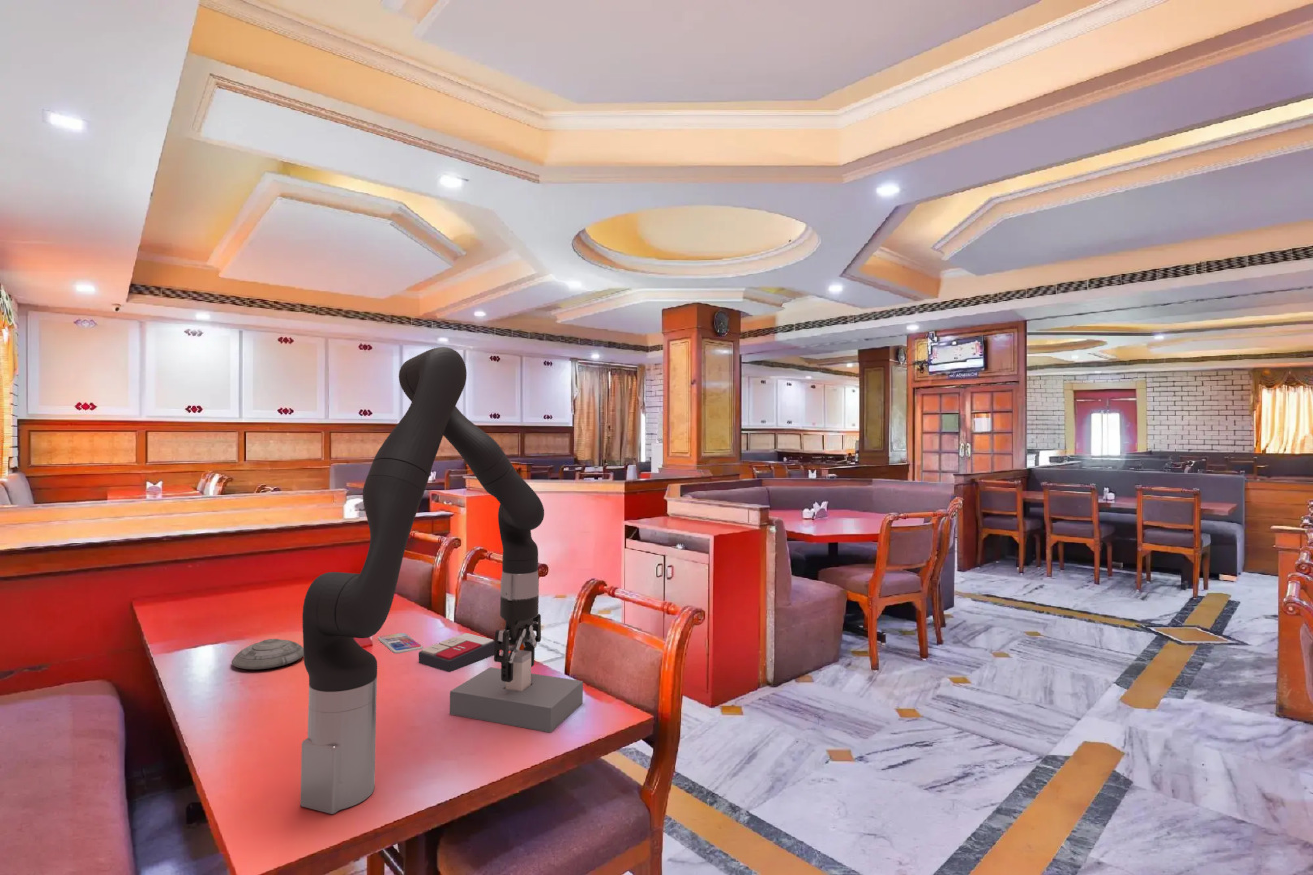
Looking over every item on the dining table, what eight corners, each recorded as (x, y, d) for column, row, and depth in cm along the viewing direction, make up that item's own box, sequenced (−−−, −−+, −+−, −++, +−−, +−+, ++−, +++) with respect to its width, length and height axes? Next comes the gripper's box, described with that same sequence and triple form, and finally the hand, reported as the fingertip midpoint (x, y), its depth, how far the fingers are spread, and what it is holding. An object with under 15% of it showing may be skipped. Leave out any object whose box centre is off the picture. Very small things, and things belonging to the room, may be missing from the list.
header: (550, 732, 116) (551, 708, 116) (449, 714, 123) (450, 691, 123) (582, 702, 130) (583, 681, 130) (489, 687, 136) (490, 667, 136)
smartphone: (405, 631, 173) (424, 646, 161) (404, 635, 172) (424, 650, 161) (376, 636, 168) (394, 651, 156) (376, 639, 168) (394, 655, 156)
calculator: (417, 649, 151) (466, 630, 163) (417, 666, 151) (466, 646, 164) (449, 657, 145) (496, 637, 158) (449, 676, 145) (497, 654, 158)
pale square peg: (521, 710, 124) (522, 657, 124) (505, 708, 125) (506, 654, 125) (530, 703, 128) (531, 651, 128) (514, 701, 129) (515, 649, 129)
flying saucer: (246, 679, 139) (247, 654, 139) (221, 663, 148) (221, 640, 148) (317, 661, 151) (317, 638, 151) (289, 648, 160) (289, 626, 160)
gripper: (521, 583, 135) (519, 659, 135) (483, 599, 121) (481, 683, 121) (552, 586, 132) (551, 663, 132) (517, 603, 119) (516, 689, 119)
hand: (518, 673), depth 127 cm, fingers open, 8 cm apart
